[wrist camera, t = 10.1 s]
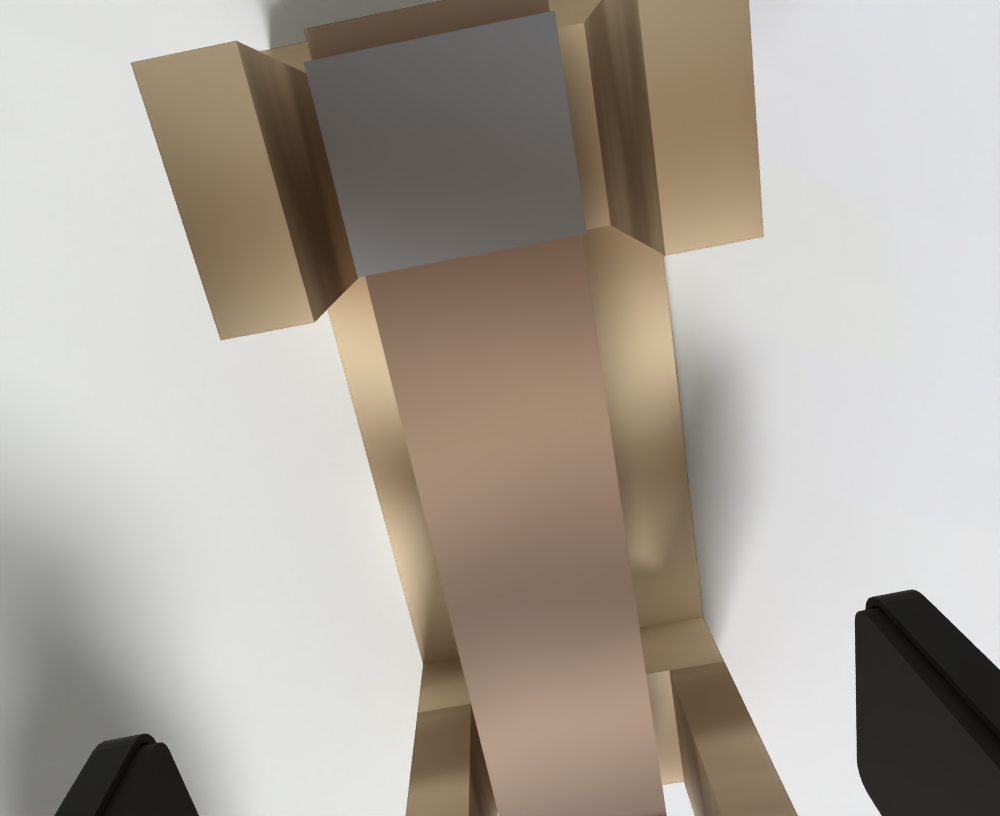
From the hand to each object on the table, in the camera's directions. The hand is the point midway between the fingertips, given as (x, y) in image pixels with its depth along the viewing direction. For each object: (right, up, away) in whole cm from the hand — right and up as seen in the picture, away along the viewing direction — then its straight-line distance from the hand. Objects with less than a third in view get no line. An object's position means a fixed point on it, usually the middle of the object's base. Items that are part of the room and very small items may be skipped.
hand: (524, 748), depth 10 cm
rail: (0, +3, +8) cm, 8 cm away
